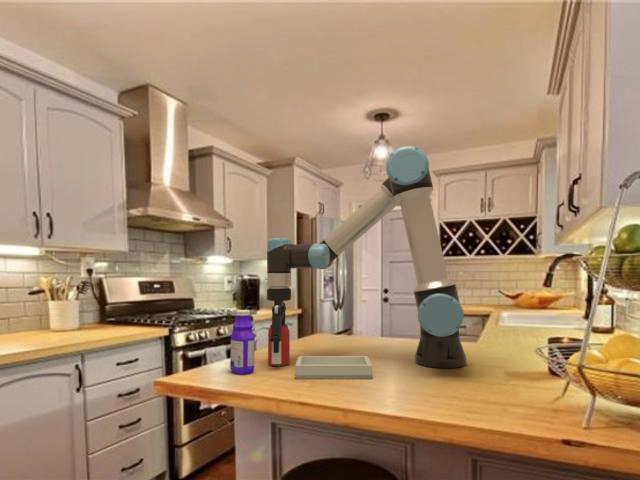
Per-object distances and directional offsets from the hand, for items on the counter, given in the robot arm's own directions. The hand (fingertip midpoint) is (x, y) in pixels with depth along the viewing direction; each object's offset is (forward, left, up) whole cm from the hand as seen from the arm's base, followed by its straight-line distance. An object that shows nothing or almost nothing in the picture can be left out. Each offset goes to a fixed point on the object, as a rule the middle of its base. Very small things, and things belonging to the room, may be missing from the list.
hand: (278, 359), depth 126 cm
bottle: (+3, +13, -2) cm, 13 cm away
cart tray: (-20, +1, -2) cm, 20 cm away
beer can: (0, 0, -2) cm, 2 cm away
